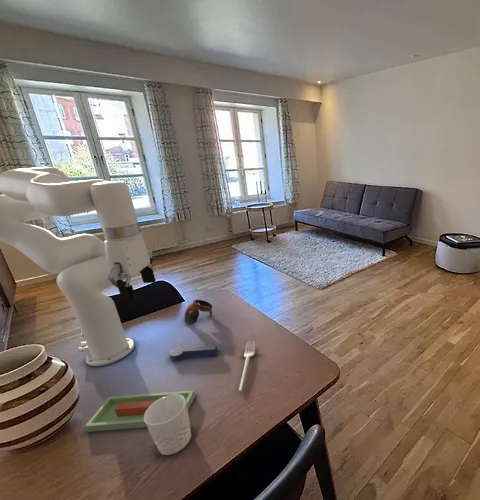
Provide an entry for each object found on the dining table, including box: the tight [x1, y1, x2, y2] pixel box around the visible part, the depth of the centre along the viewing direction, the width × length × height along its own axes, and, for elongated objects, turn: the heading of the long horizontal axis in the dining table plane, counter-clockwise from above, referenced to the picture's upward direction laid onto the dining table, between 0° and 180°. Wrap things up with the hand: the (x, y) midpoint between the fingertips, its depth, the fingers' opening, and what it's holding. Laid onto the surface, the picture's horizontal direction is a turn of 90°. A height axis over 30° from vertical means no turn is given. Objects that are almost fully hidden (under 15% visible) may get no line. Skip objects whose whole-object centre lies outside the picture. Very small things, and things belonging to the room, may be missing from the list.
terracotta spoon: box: [114, 401, 155, 417], centre depth 74 cm, size 14×4×2 cm, turn 95°
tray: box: [84, 390, 196, 433], centre depth 74 cm, size 22×9×2 cm, turn 95°
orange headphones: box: [183, 299, 213, 325], centre depth 113 cm, size 12×10×8 cm
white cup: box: [144, 394, 192, 456], centre depth 66 cm, size 8×8×10 cm
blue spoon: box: [169, 345, 219, 362], centre depth 94 cm, size 14×4×2 cm, turn 95°
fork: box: [238, 340, 256, 393], centre depth 89 cm, size 3×20×2 cm, turn 9°
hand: (140, 290), depth 81 cm, fingers open, 9 cm apart
